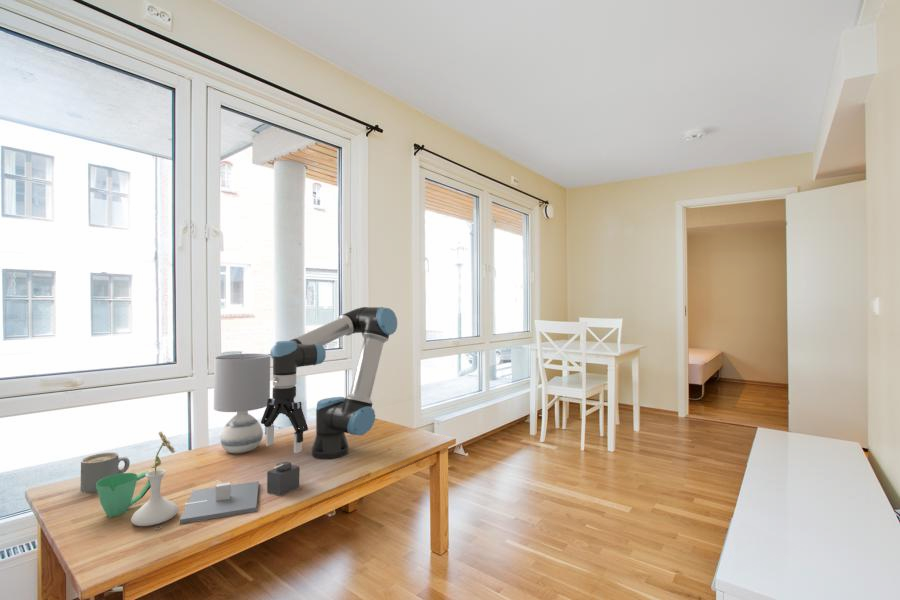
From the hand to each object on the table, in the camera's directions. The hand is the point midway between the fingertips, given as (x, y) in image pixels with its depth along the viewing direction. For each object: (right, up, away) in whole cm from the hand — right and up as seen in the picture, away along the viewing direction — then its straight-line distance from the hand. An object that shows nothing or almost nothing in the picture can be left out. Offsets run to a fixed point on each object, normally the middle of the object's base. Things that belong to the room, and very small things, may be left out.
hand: (283, 448), depth 143 cm
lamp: (-33, -14, +37) cm, 52 cm away
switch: (-15, -14, -10) cm, 23 cm away
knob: (0, -14, 0) cm, 14 cm away
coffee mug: (-63, -14, +2) cm, 64 cm away
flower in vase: (-30, -14, -20) cm, 38 cm away
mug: (-43, -14, -14) cm, 47 cm away
